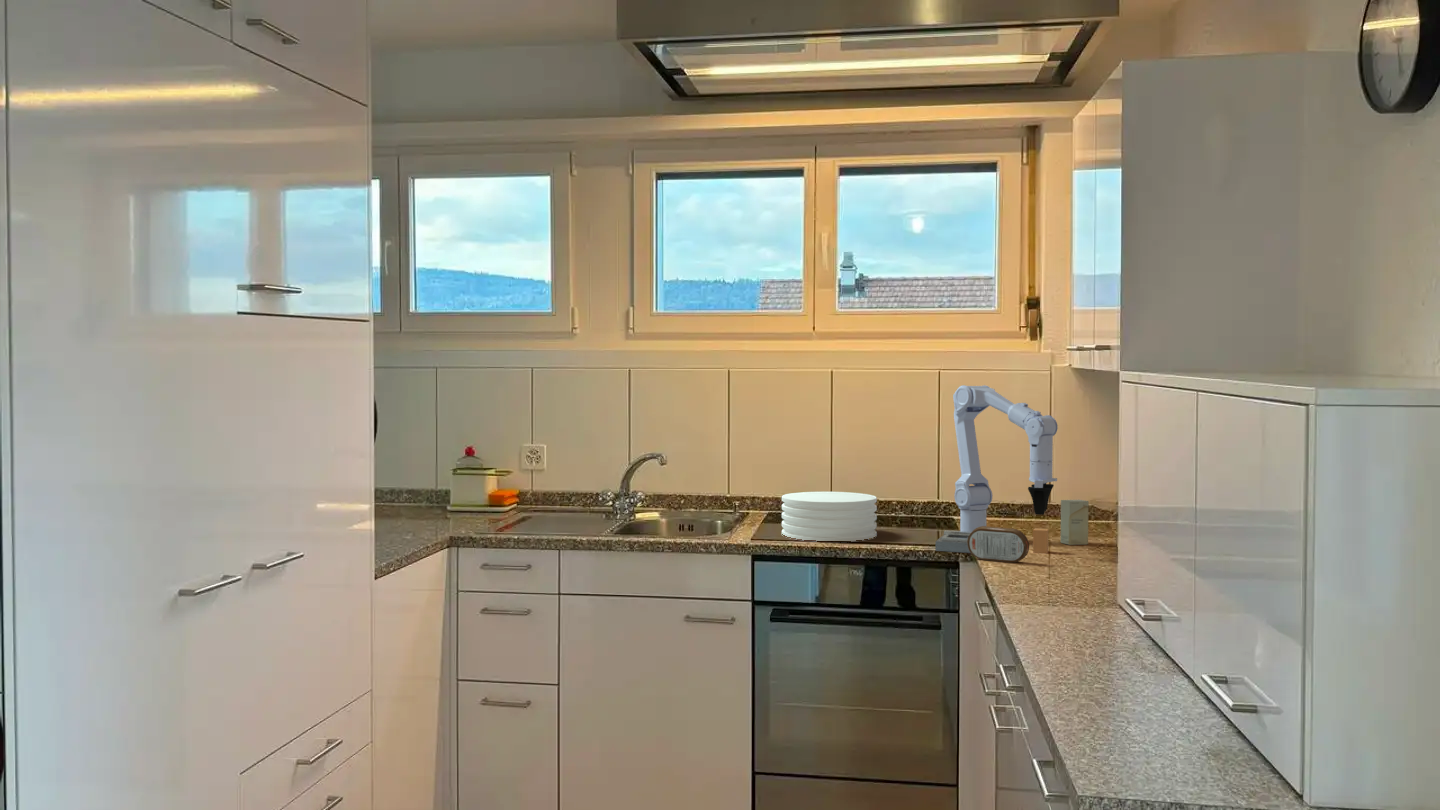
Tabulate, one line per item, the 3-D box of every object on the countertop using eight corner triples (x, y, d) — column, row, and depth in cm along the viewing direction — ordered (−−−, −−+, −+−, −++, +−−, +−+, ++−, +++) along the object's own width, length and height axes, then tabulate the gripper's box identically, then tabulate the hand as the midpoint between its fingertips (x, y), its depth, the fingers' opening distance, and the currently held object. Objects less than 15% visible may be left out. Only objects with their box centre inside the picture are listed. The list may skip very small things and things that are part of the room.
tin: (1029, 562, 239) (1029, 529, 239) (1026, 564, 237) (1026, 530, 236) (969, 557, 247) (969, 524, 247) (965, 559, 244) (965, 526, 244)
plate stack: (883, 542, 272) (883, 502, 271) (783, 542, 272) (783, 502, 272) (869, 528, 300) (869, 491, 299) (779, 528, 300) (779, 491, 300)
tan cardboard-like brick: (1034, 550, 257) (1034, 528, 257) (1048, 551, 256) (1048, 528, 256) (1033, 552, 254) (1033, 529, 254) (1047, 553, 253) (1047, 530, 252)
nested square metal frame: (943, 544, 268) (943, 530, 268) (980, 546, 264) (980, 532, 264) (935, 550, 257) (935, 536, 257) (973, 553, 253) (973, 538, 253)
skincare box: (1069, 545, 266) (1069, 501, 265) (1059, 543, 270) (1059, 499, 270) (1089, 544, 267) (1089, 500, 267) (1079, 542, 271) (1079, 498, 271)
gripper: (1055, 463, 246) (1054, 516, 246) (1059, 460, 260) (1058, 510, 260) (1026, 462, 249) (1026, 515, 249) (1031, 459, 262) (1031, 509, 263)
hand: (1040, 512), depth 255 cm, fingers open, 7 cm apart
